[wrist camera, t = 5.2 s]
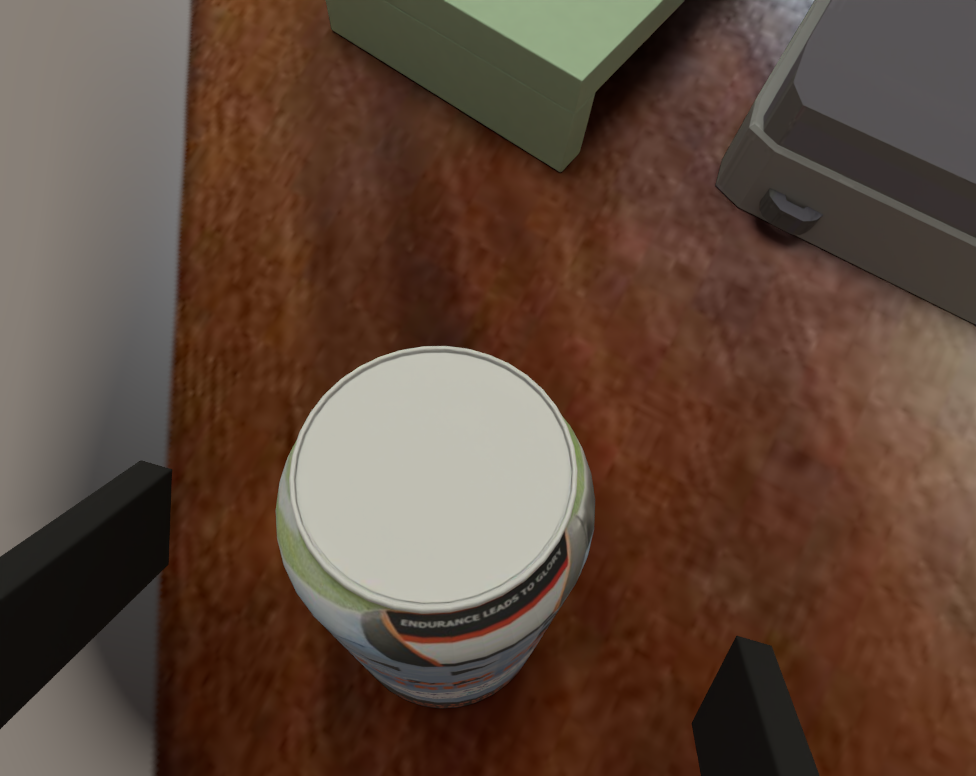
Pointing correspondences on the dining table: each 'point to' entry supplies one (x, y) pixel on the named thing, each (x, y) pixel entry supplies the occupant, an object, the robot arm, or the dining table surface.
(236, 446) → the dining table surface
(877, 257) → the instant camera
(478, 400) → the beverage can
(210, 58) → the dining table surface
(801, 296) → the dining table surface
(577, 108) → the green flat box
